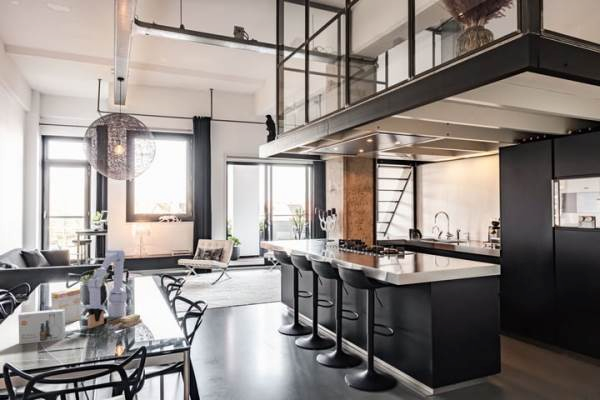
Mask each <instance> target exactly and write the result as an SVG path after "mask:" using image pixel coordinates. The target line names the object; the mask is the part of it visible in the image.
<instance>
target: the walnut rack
mask: <svg viewBox="0 0 600 400" xmlns="http://www.w3.org/2000/svg"><path fill="white" fill-rule="evenodd" d="M120 318H121V317H118V318H117V319H114V320H111V321H109V322H107V323H106V324H105V326H106V327H107V326H109V327H121V328H124V327H123V326H119V323H121V321H120ZM142 323H143V321H142V322H140V323H137V324H135V325H132V326H130V327H129V328H131V327H133V326H137V325H139V324H142Z"/></svg>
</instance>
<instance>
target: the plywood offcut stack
mask: <svg viewBox="0 0 600 400" xmlns="http://www.w3.org/2000/svg"><path fill="white" fill-rule="evenodd" d="M119 318H120V321H121V323H119V326H123V327H122V328H131V327H130V326H132V325H134V326H136V325H135V324H137V323H139V324H141V323H140V322H142V323H143V320H142V319H140V318H141V315H140V314H134V313H133V314H129V315H126V316H124V317H123V316H122V317H119ZM137 325H138V324H137ZM132 327H133V326H132Z"/></svg>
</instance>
